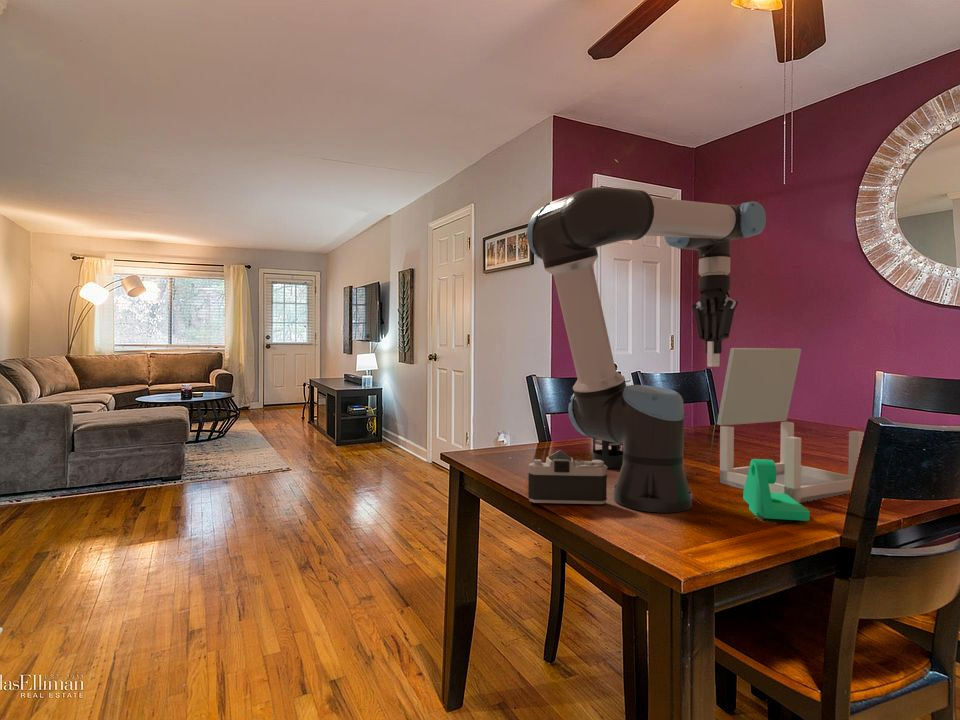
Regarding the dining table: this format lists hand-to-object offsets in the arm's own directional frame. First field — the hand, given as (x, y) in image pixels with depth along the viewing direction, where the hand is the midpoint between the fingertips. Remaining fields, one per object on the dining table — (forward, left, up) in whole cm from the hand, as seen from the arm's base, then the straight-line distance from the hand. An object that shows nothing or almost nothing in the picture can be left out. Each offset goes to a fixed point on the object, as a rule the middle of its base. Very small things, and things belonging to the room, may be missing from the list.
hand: (713, 366), depth 134 cm
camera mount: (-20, -33, -27) cm, 47 cm away
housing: (0, -21, -26) cm, 34 cm away
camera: (-50, -10, -27) cm, 58 cm away
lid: (0, -12, -13) cm, 18 cm away
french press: (-23, +13, -27) cm, 37 cm away
